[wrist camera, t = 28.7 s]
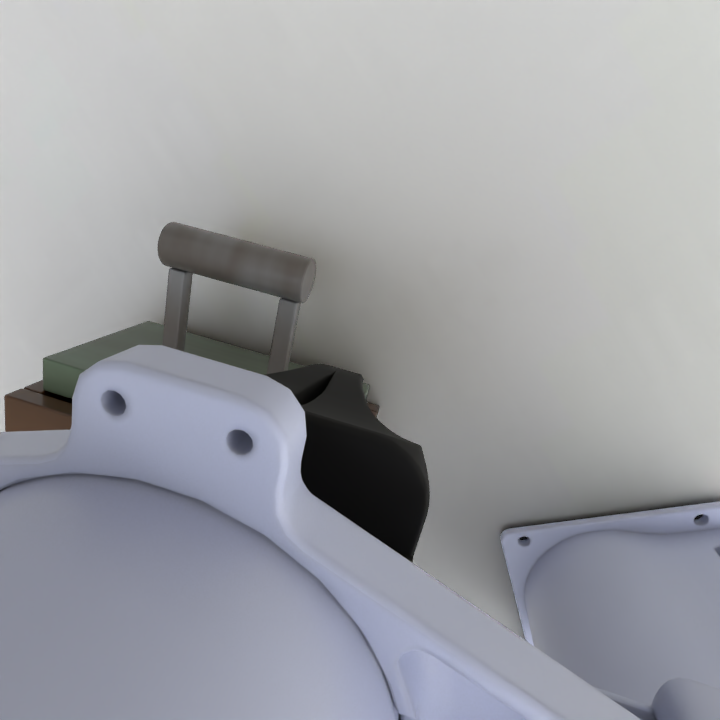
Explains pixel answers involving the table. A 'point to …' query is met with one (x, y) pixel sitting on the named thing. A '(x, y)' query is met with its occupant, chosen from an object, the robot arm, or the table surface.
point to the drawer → (188, 256)
